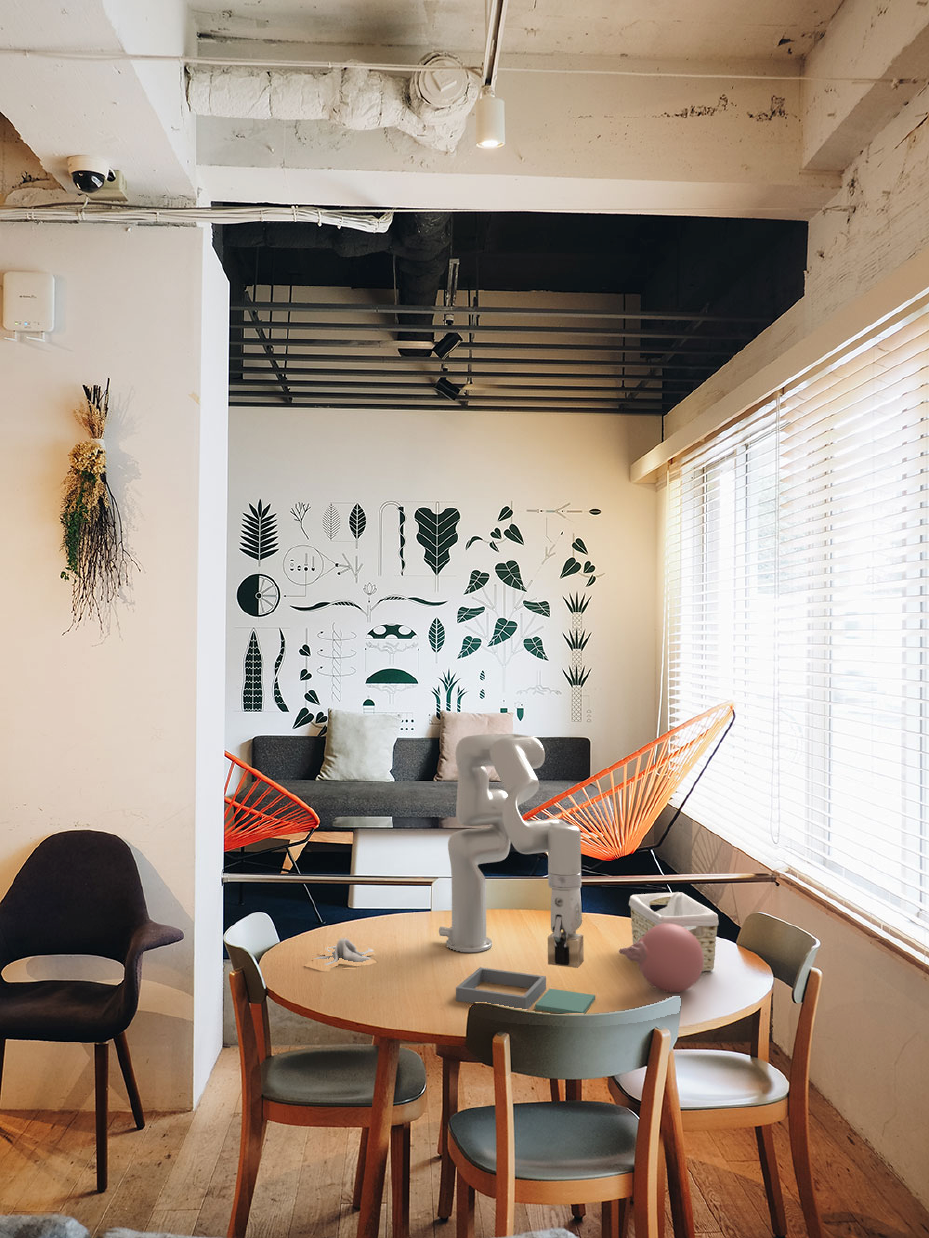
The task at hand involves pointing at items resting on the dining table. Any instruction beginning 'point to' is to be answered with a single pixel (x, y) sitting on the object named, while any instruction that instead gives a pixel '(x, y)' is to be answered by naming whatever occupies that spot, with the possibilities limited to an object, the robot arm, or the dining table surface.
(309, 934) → the dining table surface
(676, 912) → the storage basket
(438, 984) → the dining table surface
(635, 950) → the pink balloon
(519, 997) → the bin
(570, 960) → the label box
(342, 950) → the cloth
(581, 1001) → the mat
